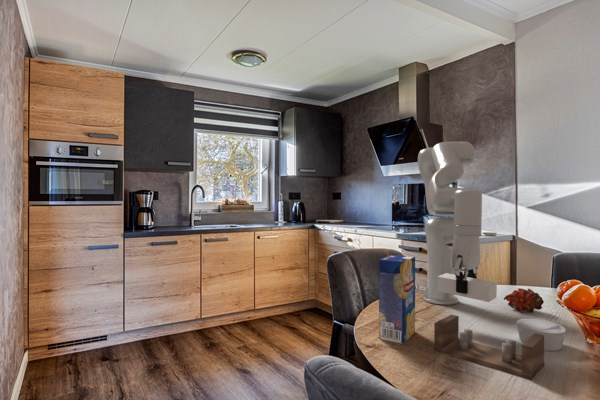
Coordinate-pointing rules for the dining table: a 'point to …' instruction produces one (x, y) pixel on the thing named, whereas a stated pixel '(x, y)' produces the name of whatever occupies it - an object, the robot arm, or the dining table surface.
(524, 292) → the dragon fruit
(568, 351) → the dining table surface
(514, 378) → the dining table surface
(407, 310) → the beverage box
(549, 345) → the ramekin
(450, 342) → the peg frame
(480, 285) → the shelf board
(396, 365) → the dining table surface
